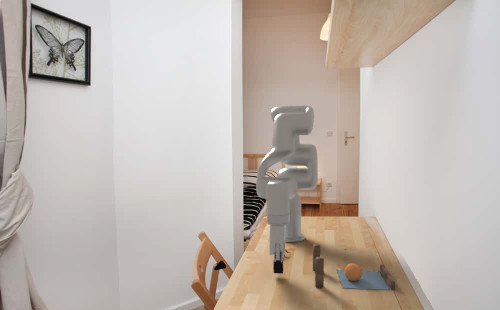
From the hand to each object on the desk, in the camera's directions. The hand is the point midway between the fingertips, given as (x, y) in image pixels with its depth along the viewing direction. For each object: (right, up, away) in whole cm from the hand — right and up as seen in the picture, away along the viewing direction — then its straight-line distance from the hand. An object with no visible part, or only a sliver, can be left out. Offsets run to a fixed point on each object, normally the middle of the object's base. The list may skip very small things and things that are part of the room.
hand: (278, 272), depth 121 cm
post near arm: (+14, -1, +5) cm, 15 cm away
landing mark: (+27, -1, -3) cm, 27 cm away
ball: (+24, +1, -4) cm, 24 cm away
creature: (+3, 0, +19) cm, 19 cm away
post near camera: (+12, -2, -8) cm, 15 cm away
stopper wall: (+35, -1, -4) cm, 35 cm away
